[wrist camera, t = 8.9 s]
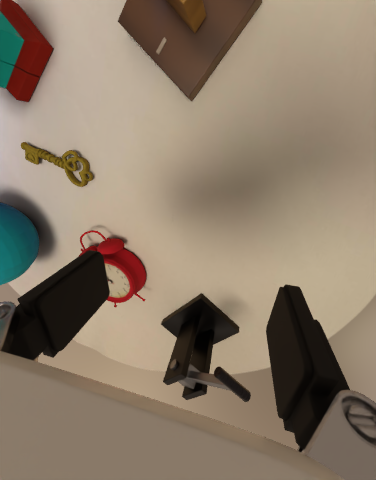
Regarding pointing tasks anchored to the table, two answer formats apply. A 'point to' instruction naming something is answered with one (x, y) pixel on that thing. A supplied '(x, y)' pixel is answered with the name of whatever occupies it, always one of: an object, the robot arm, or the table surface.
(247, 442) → the robot arm
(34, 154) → the key
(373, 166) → the table surface
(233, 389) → the door lever
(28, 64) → the toy robot
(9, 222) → the decorative orb
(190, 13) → the thumbturn
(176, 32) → the plate
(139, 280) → the alarm clock
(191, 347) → the black handle mount
